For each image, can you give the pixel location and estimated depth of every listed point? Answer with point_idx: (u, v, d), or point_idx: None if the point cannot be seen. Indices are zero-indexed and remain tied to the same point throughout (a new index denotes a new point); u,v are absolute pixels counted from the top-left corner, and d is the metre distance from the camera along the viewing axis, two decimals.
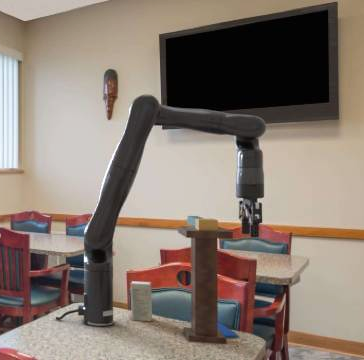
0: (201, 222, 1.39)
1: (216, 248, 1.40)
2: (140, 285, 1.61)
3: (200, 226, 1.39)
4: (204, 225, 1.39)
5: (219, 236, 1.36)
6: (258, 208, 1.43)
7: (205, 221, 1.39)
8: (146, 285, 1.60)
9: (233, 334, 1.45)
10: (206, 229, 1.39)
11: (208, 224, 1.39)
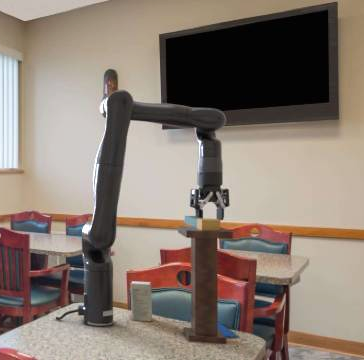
0: (204, 222, 1.39)
1: (216, 248, 1.40)
2: (140, 285, 1.61)
3: (203, 226, 1.39)
4: (207, 225, 1.39)
5: (219, 236, 1.36)
6: (194, 194, 1.58)
7: (208, 221, 1.39)
8: (146, 285, 1.60)
9: (233, 335, 1.45)
10: (209, 229, 1.39)
11: (211, 224, 1.39)
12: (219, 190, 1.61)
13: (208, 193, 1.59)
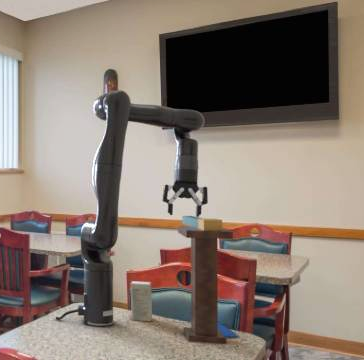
0: (206, 222, 1.39)
1: (216, 248, 1.40)
2: (140, 285, 1.61)
3: (205, 226, 1.39)
4: (209, 225, 1.39)
5: (219, 236, 1.36)
6: (164, 189, 1.71)
7: (210, 221, 1.39)
8: (146, 285, 1.60)
9: (233, 335, 1.45)
10: (211, 229, 1.39)
11: (213, 224, 1.39)
12: (195, 187, 1.68)
13: (179, 189, 1.69)
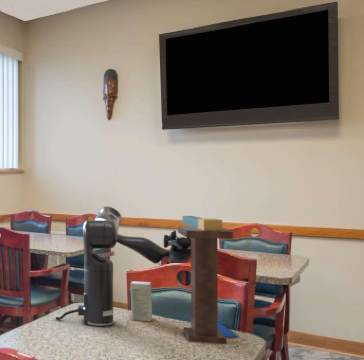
0: (206, 222, 1.39)
1: (216, 248, 1.40)
2: (140, 285, 1.61)
3: (205, 226, 1.39)
4: (209, 225, 1.39)
5: (219, 236, 1.36)
6: (163, 241, 1.76)
7: (210, 221, 1.39)
8: (146, 285, 1.60)
9: (233, 335, 1.45)
10: (211, 229, 1.39)
11: (213, 224, 1.39)
12: None
13: None
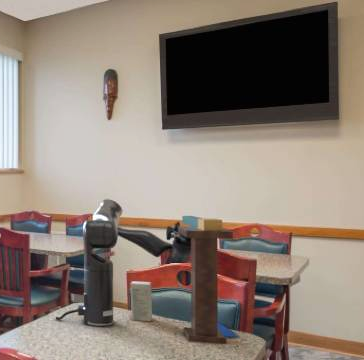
0: (206, 222, 1.39)
1: (216, 248, 1.40)
2: (140, 285, 1.61)
3: (205, 226, 1.39)
4: (209, 225, 1.39)
5: (219, 236, 1.36)
6: (166, 234, 1.69)
7: (210, 221, 1.39)
8: (146, 285, 1.60)
9: (233, 335, 1.45)
10: (211, 229, 1.39)
11: (213, 224, 1.39)
12: None
13: None
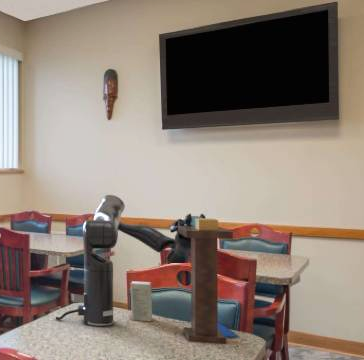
0: (201, 222, 1.39)
1: (216, 248, 1.40)
2: (140, 285, 1.61)
3: (200, 226, 1.39)
4: (205, 225, 1.39)
5: (219, 236, 1.36)
6: (172, 226, 1.63)
7: (205, 221, 1.39)
8: (146, 285, 1.60)
9: (233, 335, 1.45)
10: (206, 229, 1.39)
11: (208, 224, 1.39)
12: None
13: None
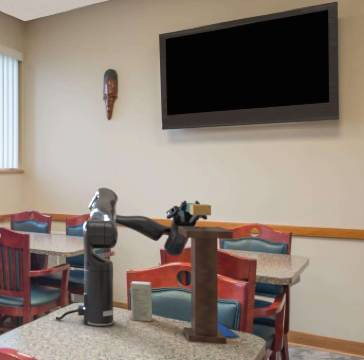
0: (195, 207, 1.47)
1: (216, 248, 1.40)
2: (140, 285, 1.61)
3: (194, 211, 1.47)
4: (198, 210, 1.47)
5: (219, 236, 1.36)
6: (168, 212, 1.71)
7: (199, 206, 1.47)
8: (146, 285, 1.60)
9: (233, 335, 1.45)
10: (200, 214, 1.47)
11: (202, 209, 1.46)
12: None
13: None
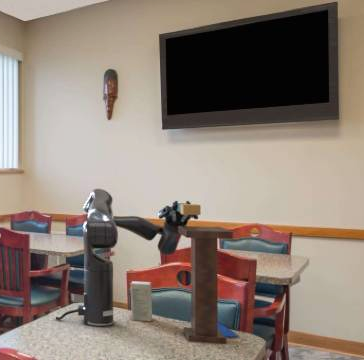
0: (185, 207, 1.52)
1: (216, 248, 1.40)
2: (140, 285, 1.61)
3: (184, 211, 1.52)
4: (188, 210, 1.51)
5: (219, 236, 1.36)
6: (160, 212, 1.75)
7: (189, 206, 1.51)
8: (146, 285, 1.60)
9: (233, 335, 1.45)
10: (190, 213, 1.51)
11: (192, 209, 1.51)
12: None
13: None
